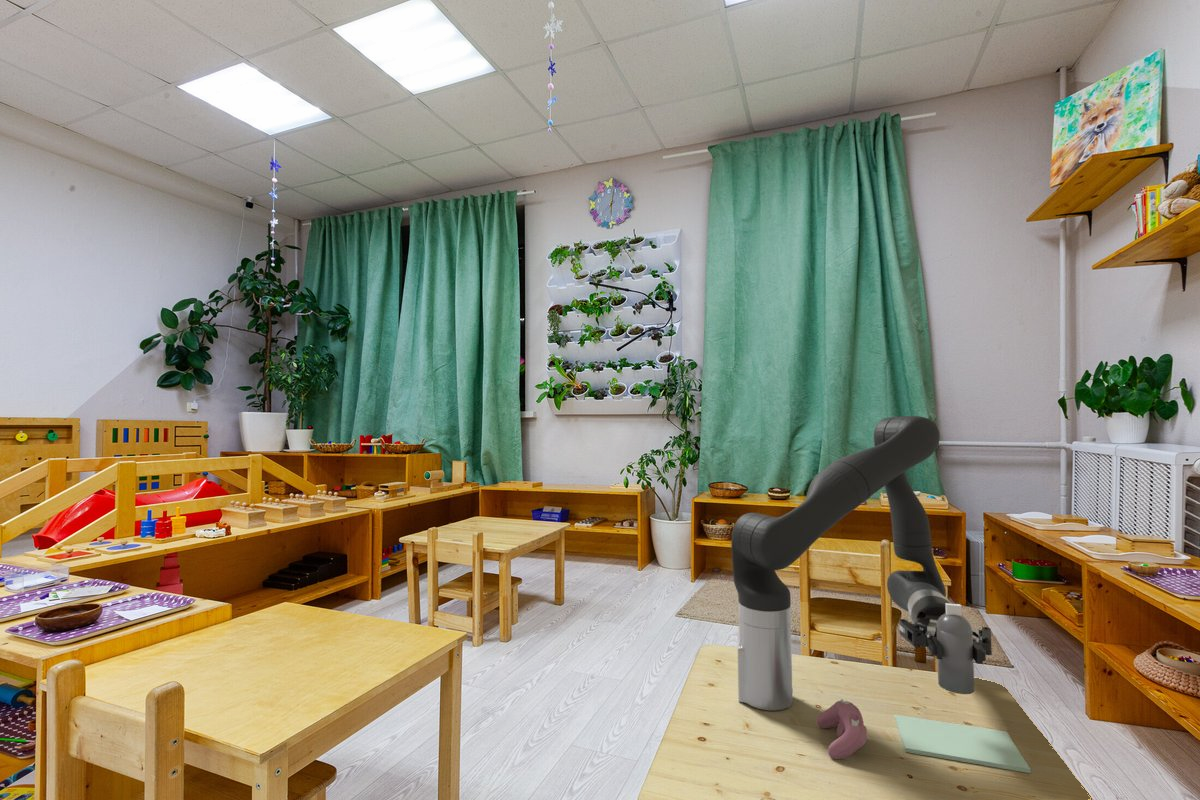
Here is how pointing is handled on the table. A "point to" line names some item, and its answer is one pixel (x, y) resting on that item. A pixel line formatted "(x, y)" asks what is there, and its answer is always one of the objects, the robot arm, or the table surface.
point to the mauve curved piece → (844, 728)
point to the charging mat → (960, 743)
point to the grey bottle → (955, 651)
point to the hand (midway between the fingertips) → (959, 655)
